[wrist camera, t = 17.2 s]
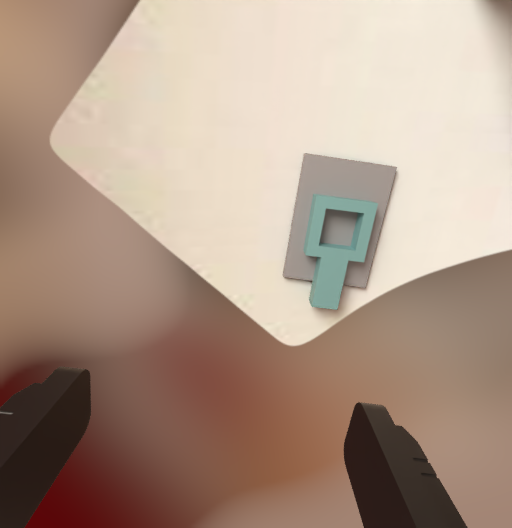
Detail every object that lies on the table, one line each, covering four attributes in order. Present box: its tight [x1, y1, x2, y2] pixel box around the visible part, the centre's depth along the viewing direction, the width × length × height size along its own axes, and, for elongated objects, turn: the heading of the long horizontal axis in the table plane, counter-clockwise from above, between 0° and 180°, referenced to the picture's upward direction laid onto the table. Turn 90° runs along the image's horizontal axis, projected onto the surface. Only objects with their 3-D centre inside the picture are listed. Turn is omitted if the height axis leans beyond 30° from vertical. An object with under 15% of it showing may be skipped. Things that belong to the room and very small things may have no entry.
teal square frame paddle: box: [303, 194, 378, 310], centre depth 36 cm, size 12×6×2 cm, turn 173°
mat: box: [283, 153, 397, 288], centre depth 36 cm, size 14×10×1 cm
